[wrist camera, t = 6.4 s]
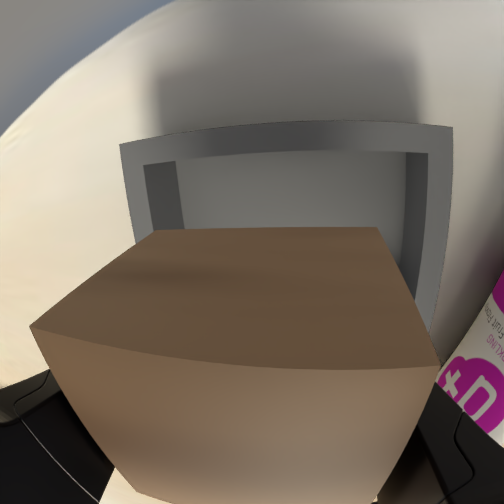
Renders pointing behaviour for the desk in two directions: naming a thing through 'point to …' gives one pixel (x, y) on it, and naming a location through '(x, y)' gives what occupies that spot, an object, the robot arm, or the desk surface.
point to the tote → (304, 185)
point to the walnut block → (246, 364)
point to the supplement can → (480, 368)
